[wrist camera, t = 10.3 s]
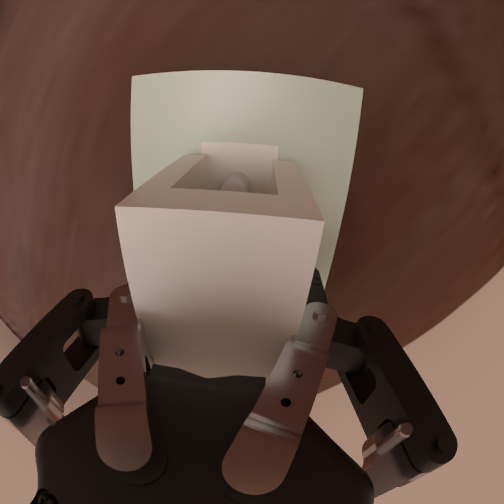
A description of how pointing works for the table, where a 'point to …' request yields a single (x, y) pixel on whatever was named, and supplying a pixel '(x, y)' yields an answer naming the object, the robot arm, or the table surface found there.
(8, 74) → the table surface
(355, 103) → the board
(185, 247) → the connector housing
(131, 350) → the robot arm
